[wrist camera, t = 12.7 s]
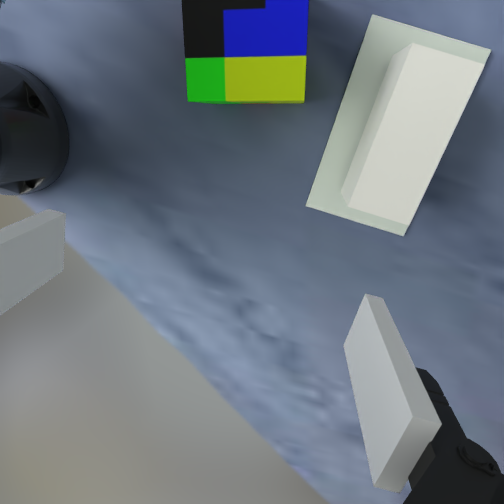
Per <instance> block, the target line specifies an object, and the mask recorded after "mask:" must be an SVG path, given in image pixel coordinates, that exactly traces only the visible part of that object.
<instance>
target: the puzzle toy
mask: <svg viewBox="0 0 504 504" xmlns="http://www.w3.org/2000/svg"><path fill="white" fill-rule="evenodd" d="M308 7H309V0H182V14H183V31H184V47H185V64H186V81H187V97H188V101H189V102H199V103H209V104H283V103H304V98H305V75H306V53H307V30H308Z"/></svg>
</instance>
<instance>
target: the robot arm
mask: <svg viewBox="0 0 504 504" xmlns="http://www.w3.org/2000/svg"><path fill="white" fill-rule="evenodd" d="M5 1H6V0H0V8H1V4H2V2H3V3H5ZM68 151H69V135H68V129H67V124H66V121H65V118H64V115H63V113H62V110H61V108H60V106H59V104H58V103H57V101H56V99H55V98H54V96H53V95H52V93H51V92H50V91H49V90H48V88H47V87H46V86H45V85H44V84H43V83H42V82H41V81H40V80H39V79H37V78H36V77H35V76H34V75H32V74H31V73H29V72H28V71H26V70H24V69H23V68H20V67H18V66H16V65H13V64H9V63H5V62H0V194H3V195H23V194H28V193H31V192H35V191H38V190H41V189H43V188H45V187H47V186H49V185H50V184H52V183H53V182H54V181H55V180H56V179H57V178H58V177H59V175H60V174H61V172H62V171H63V169H64V167H65V164H66V161H67V157H68ZM65 219H66V213H62V212H58V211H54V210H51V209H47V210H44V211H42V212H40V213H37V214H35V215H33V216H30V217H28V218H26V219H23V220H21V221H18V222H16V223H14V224H11V225H9V226H7V227H4V228H2V229H0V315H1V314H3V313H4V312H6V311H7V310H8V309H10V308H11V307H13V306H14V305H15V304H17V303H18V302H20V301H21V300H22V299H24V298H25V297H27V296H28V295H29V294H31V293H32V292H33V291H35V290H36V289H38V288H39V287H41V286H42V285H43V284H45V283H46V282H48V281H49V280H50V279H52V278H53V277H54V276H56V275H57V274H59V273H60V272H61V271H63V262H64V240H65ZM344 350H345V355H346V359H347V364H348V369H349V373H350V378H351V383H352V388H353V392H354V397H355V402H356V406H357V411H358V416H359V420H360V425H361V430H362V434H363V439H364V444H365V448H366V453H367V458H368V462H369V467H370V472H371V476H372V481H373V486H374V487H378V488H381V489H385V490H389V491H392V492H396V493H400V492H401V491H402V489H403V487H404V486H405V484H406V482H407V481H408V479H409V483H410V486H411V489H412V491H411V493H410V494H409V495H408V497H407V498H406V500H405V501H404V503H403V504H504V475H503V474H502V473H501V471H500V469H499V466H498V464H497V462H496V461H495V460H494V459H493V457H492V456H491V455H490V454H489V453H488V452H487V451H486V450H485V449H484V448H482V447H481V446H480V445H478V444H477V443H475V442H473V441H472V440H470V439H467V437H466V436H465V434H464V432H463V430H462V428H461V426H460V424H459V422H458V420H457V418H456V416H455V415H454V413H453V411H452V409H451V407H450V406H449V403H448V401H447V399H446V397H445V396H443V395H444V394H443V392H442V390H441V388H440V386H439V384H438V382H437V381H436V380H435V379H434V378H433V377H432V376H431V375H430V374H429V373H428V372H427V371H426V370H424V369H420V368H416V367H415V366H414V364H413V362H412V359H411V357H410V355H409V353H408V351H407V349H406V347H405V345H404V342H403V340H402V338H401V336H400V334H399V332H398V330H397V328H396V325H395V323H394V321H393V319H392V317H391V315H390V313H389V311H388V308H387V306H386V304H385V302H384V300H383V298H380V297H376V296H373V295H369V294H365V295H364V298H363V300H362V302H361V305H360V307H359V310H358V312H357V314H356V317H355V319H354V322H353V324H352V326H351V329H350V331H349V334H348V336H347V338H346V341H345V343H344Z"/></svg>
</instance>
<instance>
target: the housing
mask: <svg viewBox="0 0 504 504" xmlns="http://www.w3.org/2000/svg"><path fill="white" fill-rule="evenodd" d="M484 66H485V64H482V63H478V62H475V61H472V60H468V59H465V58H462V57H458V56H455V55H452V54H448V53H445V52H442V51H438V50H435V49H432V48H429V47H425V46H422V45H419V44H415V43H411V44H410V45H408V46H407V47H405V48H403V49H402V50H400V51H399V52H397V53H396V54H394V55H392V58H391V61H390V63H389V66H388V68H387V71H386V74H385V76H384V79H383V82H382V84H381V87H380V89H379V92H378V95H377V97H376V100H375V103H374V105H373V108H372V110H371V113H370V116H369V118H368V121H367V124H366V126H365V129H364V131H363V134H362V137H361V139H360V142H359V145H358V147H357V150H356V152H355V155H354V158H353V160H352V163H351V166H350V168H349V171H348V173H347V176H346V179H345V181H344V184H343V187H342V189H341V194H342V196H343V198H344V200H345V202H346V204H347V206H348V207H351V208H354V209H357V210H360V211H363V212H367V213H370V214H373V215H376V216H380V217H383V218H386V219H389V220H393V221H396V222H399V223H402V224H405V225H410V223H411V221H412V219H413V216H414V214H415V212H416V210H417V208H418V206H419V204H420V202H421V200H422V197H423V195H424V193H425V191H426V189H427V187H428V185H429V183H430V180H431V178H432V176H433V174H434V172H435V170H436V168H437V166H438V164H439V161H440V159H441V157H442V155H443V153H444V151H445V149H446V147H447V144H448V142H449V140H450V138H451V136H452V134H453V132H454V130H455V128H456V125H457V123H458V121H459V119H460V117H461V115H462V113H463V111H464V108H465V106H466V104H467V102H468V100H469V98H470V96H471V94H472V92H473V89H474V87H475V85H476V83H477V81H478V79H479V77H480V75H481V72H482V70H483V68H484Z"/></svg>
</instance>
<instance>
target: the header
mask: <svg viewBox="0 0 504 504" xmlns="http://www.w3.org/2000/svg"><path fill="white" fill-rule="evenodd" d="M411 43H415V44H419V45H422V46H425V47H429V48H432V49H435V50H438V51H442V52H445V53H448V54H452V55H455V56H458V57H462V58H465V59H468V60H472V61H475V62H478V63H482V64H485V62H486V60H487V58H488V56H489V54H490V52H491V50H490V49H486V48H483V47H480V46H476V45H473V44H470V43H466V42H463V41H460V40H456V39H453V38H450V37H446V36H443V35H440V34H436V33H433V32H430V31H426V30H423V29H420V28H416V27H413V26H410V25H406V24H403V23H400V22H396V21H393V20H390V19H387V18H383V17H380V16H377V15H373V14H372V16H371V19H370V22H369V25H368V28H367V31H366V34H365V36H364V39H363V42H362V45H361V48H360V51H359V54H358V56H357V59H356V62H355V65H354V68H353V71H352V74H351V77H350V79H349V82H348V85H347V88H346V91H345V94H344V97H343V99H342V102H341V105H340V108H339V111H338V114H337V117H336V120H335V122H334V125H333V128H332V131H331V134H330V137H329V140H328V142H327V145H326V148H325V151H324V154H323V157H322V160H321V163H320V165H319V168H318V171H317V174H316V177H315V180H314V183H313V185H312V188H311V191H310V194H309V197H308V200H307V203H306V206H307V207H311V208H314V209H317V210H320V211H324V212H327V213H330V214H333V215H336V216H340V217H343V218H346V219H349V220H353V221H356V222H359V223H362V224H365V225H369V226H372V227H375V228H378V229H382V230H385V231H388V232H391V233H394V234H398V235H401V236H404V234H405V232H406V230H407V228H408V226H409V225H405V224H402V223H399V222H396V221H393V220H389V219H386V218H383V217H380V216H376V215H373V214H370V213H367V212H363V211H360V210H357V209H354V208H351V207H348V206H347V204H346V202H345V200H344V198H343V196H342V194H341V189H342V187H343V184H344V181H345V179H346V176H347V173H348V171H349V168H350V166H351V163H352V160H353V158H354V155H355V152H356V150H357V147H358V145H359V142H360V139H361V137H362V134H363V131H364V129H365V126H366V124H367V121H368V118H369V116H370V113H371V110H372V108H373V105H374V103H375V100H376V97H377V95H378V92H379V89H380V87H381V84H382V82H383V79H384V76H385V74H386V71H387V68H388V66H389V63H390V61H391V58H392V55H394V54H396V53H397V52H399V51H400V50H402V49H403V48H405V47H407V46H408V45H410V44H411Z"/></svg>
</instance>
